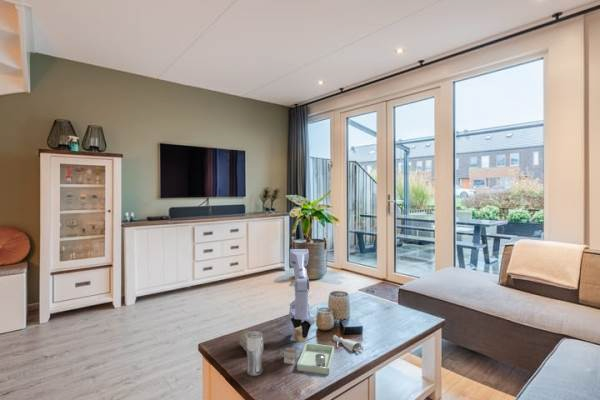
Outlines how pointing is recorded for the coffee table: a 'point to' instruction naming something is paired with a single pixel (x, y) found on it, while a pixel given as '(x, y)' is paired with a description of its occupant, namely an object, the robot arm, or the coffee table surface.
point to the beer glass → (254, 352)
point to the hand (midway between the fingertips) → (301, 335)
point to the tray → (308, 358)
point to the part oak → (299, 335)
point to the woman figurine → (348, 343)
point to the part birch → (289, 355)
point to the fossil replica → (244, 338)
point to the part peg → (320, 360)
